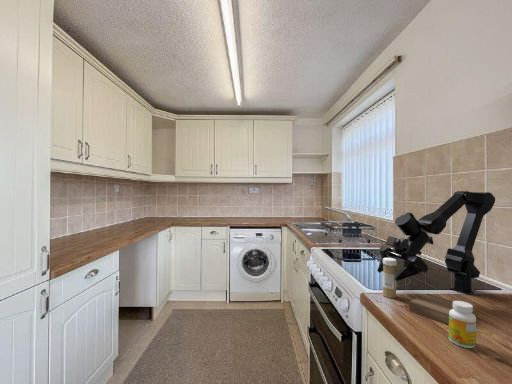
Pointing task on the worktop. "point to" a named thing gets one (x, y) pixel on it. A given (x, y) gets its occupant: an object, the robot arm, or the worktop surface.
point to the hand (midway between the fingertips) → (386, 275)
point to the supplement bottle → (462, 325)
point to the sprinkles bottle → (389, 277)
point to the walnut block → (432, 307)
